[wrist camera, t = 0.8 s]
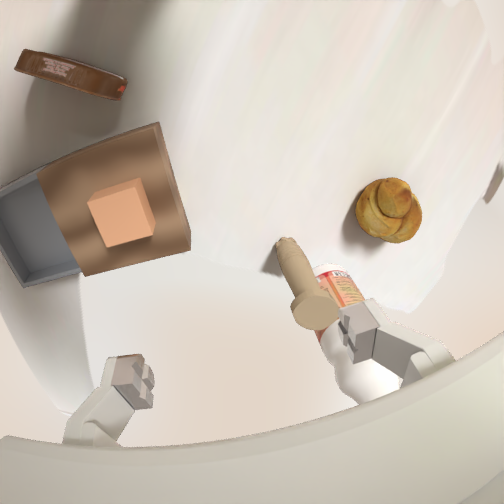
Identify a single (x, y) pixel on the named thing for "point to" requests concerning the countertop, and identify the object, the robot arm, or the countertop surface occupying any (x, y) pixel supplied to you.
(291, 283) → the handle
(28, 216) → the box
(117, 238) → the terracotta block
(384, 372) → the fruit juice
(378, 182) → the bread roll
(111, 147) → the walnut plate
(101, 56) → the countertop surface
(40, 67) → the tin
